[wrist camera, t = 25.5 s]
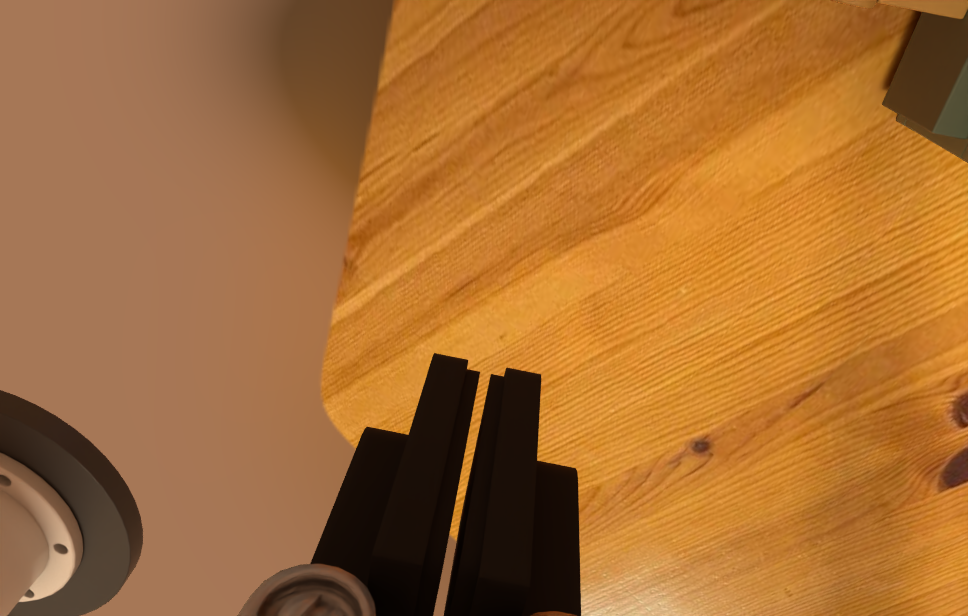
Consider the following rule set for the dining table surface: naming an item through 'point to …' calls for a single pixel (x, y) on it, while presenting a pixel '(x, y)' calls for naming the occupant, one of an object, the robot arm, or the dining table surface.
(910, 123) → the cabinet
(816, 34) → the dining table surface
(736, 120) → the dining table surface
